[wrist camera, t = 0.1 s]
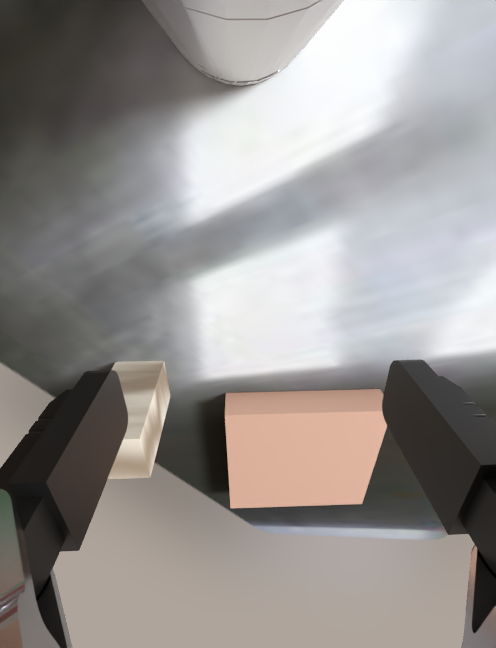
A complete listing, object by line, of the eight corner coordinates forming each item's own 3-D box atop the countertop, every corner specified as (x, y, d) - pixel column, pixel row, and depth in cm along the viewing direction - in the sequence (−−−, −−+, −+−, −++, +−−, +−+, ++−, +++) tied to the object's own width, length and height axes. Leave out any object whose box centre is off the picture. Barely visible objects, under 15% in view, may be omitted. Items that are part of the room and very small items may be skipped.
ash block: (115, 362, 31) (74, 440, 23) (164, 360, 31) (139, 438, 23) (125, 397, 33) (91, 479, 25) (170, 396, 33) (150, 477, 25)
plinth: (225, 392, 33) (224, 415, 30) (379, 389, 33) (392, 410, 31) (231, 484, 41) (230, 508, 39) (354, 480, 42) (361, 503, 39)
